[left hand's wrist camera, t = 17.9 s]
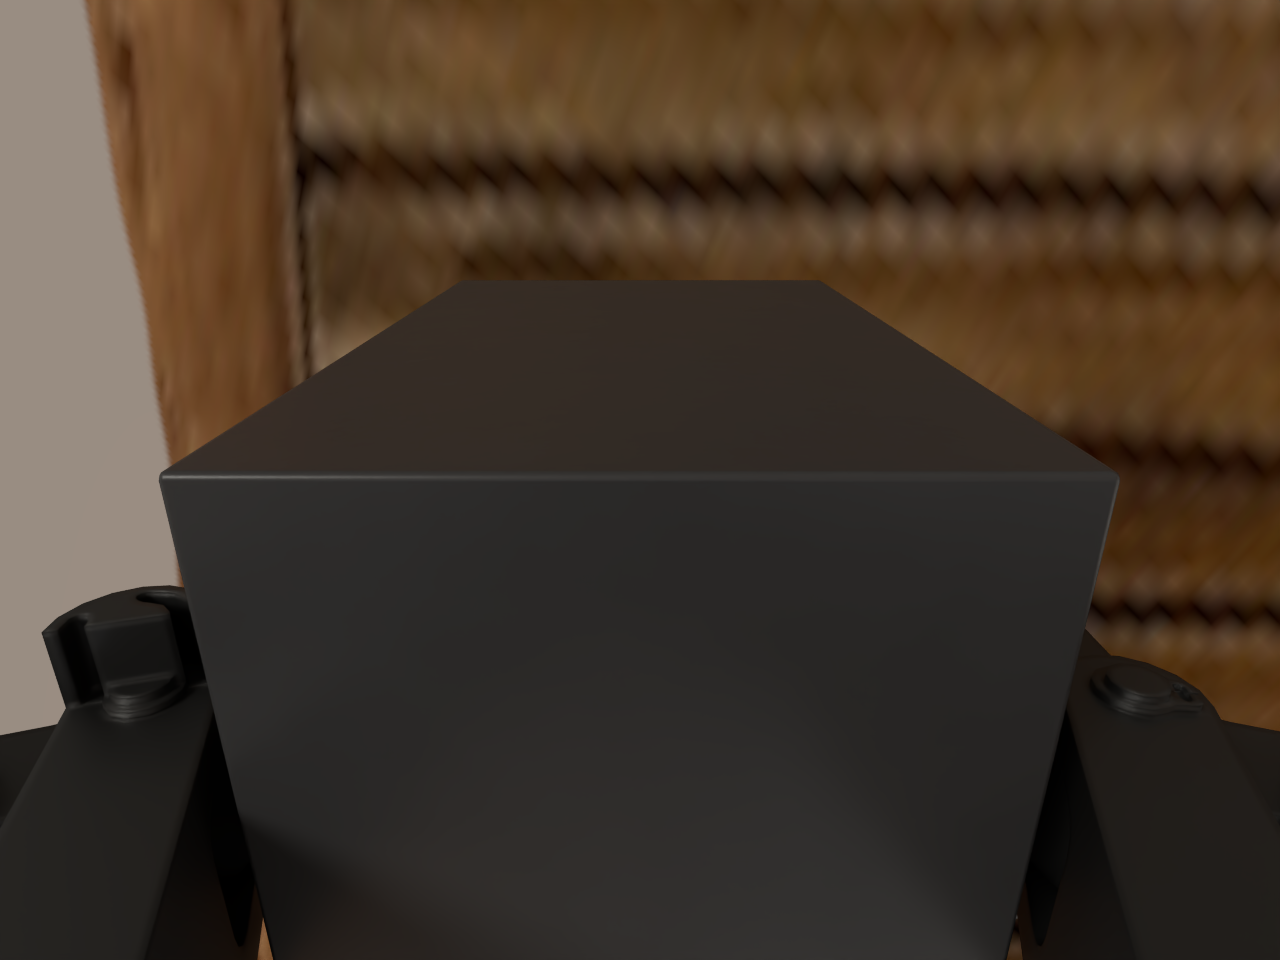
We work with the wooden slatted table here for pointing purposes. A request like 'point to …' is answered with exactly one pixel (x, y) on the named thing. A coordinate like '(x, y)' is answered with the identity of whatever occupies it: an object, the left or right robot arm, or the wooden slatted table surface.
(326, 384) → the box
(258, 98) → the wooden slatted table surface
